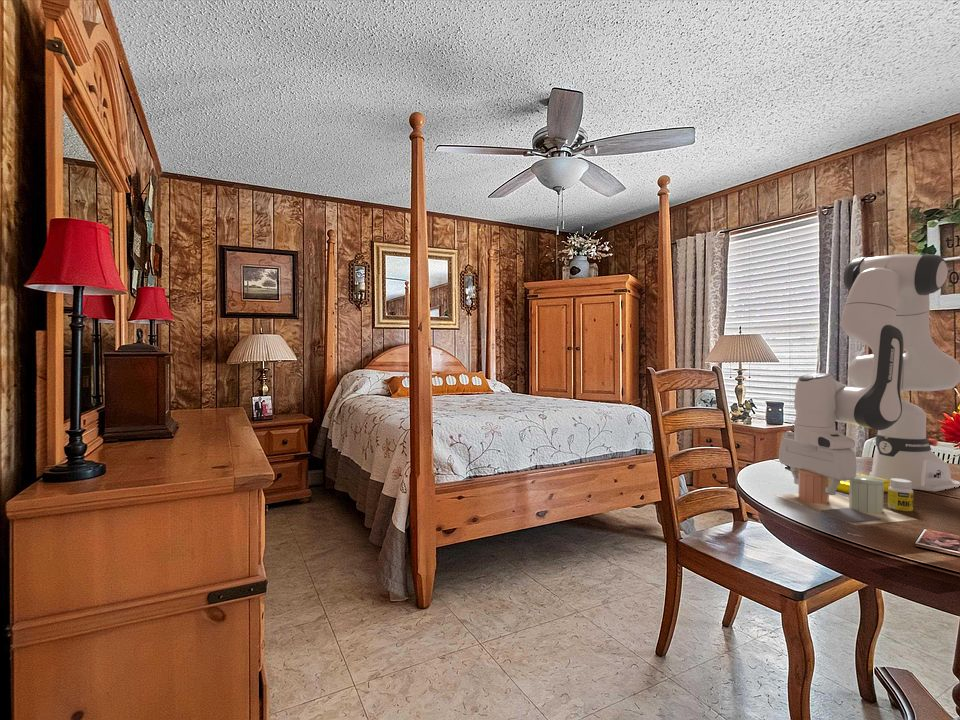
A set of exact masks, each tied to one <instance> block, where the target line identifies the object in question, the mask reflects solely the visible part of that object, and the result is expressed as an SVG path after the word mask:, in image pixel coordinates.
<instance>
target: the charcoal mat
mask: <svg viewBox="0 0 960 720" xmlns="http://www.w3.org/2000/svg"><path fill="white" fill-rule="evenodd" d="M821 512H824V513H826V514H829V515H832V516H835V517H837V518H840V519H843V520H846V521H848V522H851V523H855V522H866V521H877V520H881V519H880V518H877V517H874V516H871V515H868V514H865V513H862V512H859V511H856V510H853V509H850V508H841V509H829V510H821ZM821 512H820V513H821ZM824 513H823V514H824ZM826 514H825V515H826ZM829 515H828V516H829ZM832 516H831V517H832ZM835 517H834V518H835ZM837 518H836V519H837ZM840 519H839V520H840ZM843 520H842V521H843ZM848 522H847V523H848ZM851 523H850V524H851Z"/></svg>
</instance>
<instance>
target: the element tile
mask: <svg viewBox="0 0 960 720" xmlns="http://www.w3.org/2000/svg"><path fill="white" fill-rule="evenodd" d="M856 475H860V476H869V474H868V475H867V474H863V473H858V472H856ZM870 477H872V476H870ZM875 478H877V477H875ZM879 479H882V478H879ZM882 480H883V483H884V493H885V492H888V487H889V486H891V485H890V480H887V479H882ZM829 484H830V481H829ZM836 491H839V492H843V493H846V494H849V480H848V481H842V480H841V482H840V484H839V485H838V487H837V488H836Z"/></svg>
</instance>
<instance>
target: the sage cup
mask: <svg viewBox="0 0 960 720" xmlns="http://www.w3.org/2000/svg"><path fill="white" fill-rule="evenodd" d="M884 493H885V492H884V483H883V480H882V479H879V478H875V477H870V476H869V475H868V476H860V475H856V477H855V478H854V479H853V480H849V493H848V494H849V495H848V498H849V507H850V508H851V509H853V510H856V511H860V512H865V513H873V514H878V513H883V509H884V500H885V499H884Z"/></svg>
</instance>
